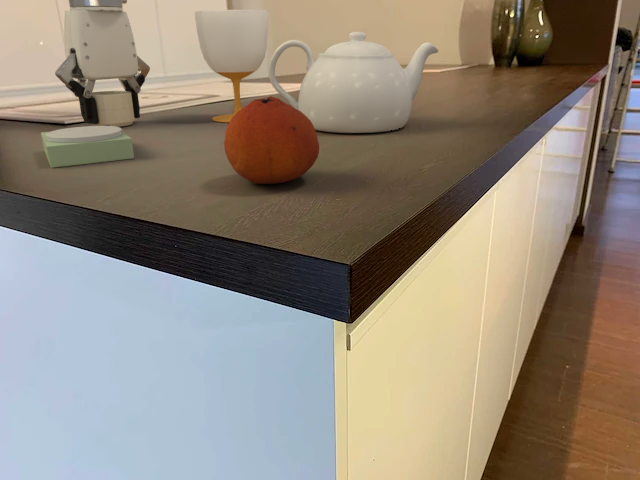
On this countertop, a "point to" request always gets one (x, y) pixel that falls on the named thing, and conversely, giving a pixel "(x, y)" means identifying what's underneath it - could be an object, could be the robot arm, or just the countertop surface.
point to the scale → (86, 145)
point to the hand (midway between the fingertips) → (112, 119)
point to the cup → (233, 45)
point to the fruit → (270, 142)
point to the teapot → (355, 86)
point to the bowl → (114, 108)
